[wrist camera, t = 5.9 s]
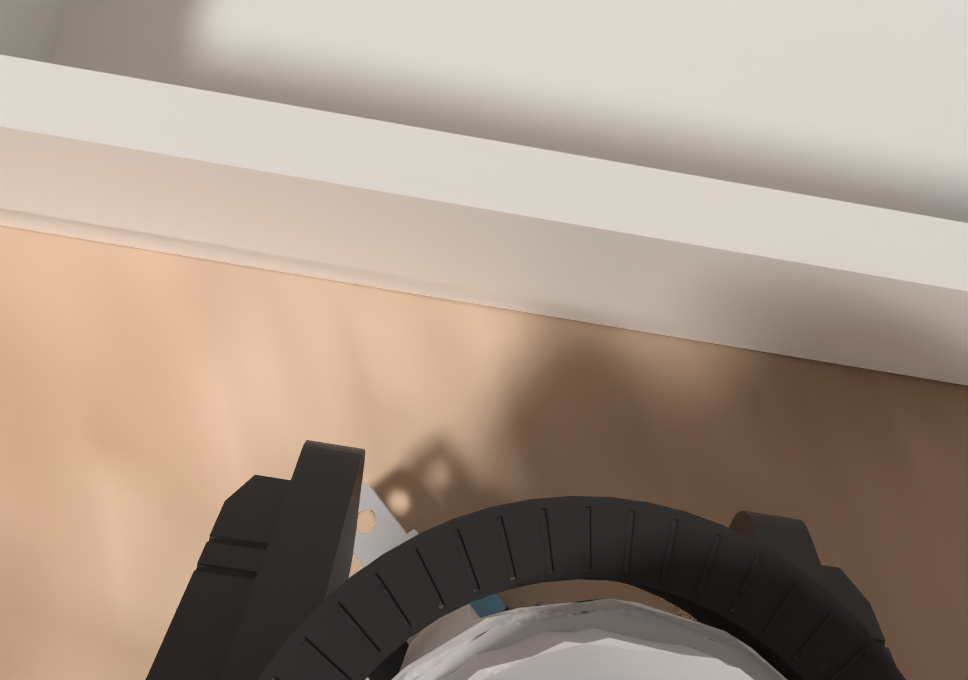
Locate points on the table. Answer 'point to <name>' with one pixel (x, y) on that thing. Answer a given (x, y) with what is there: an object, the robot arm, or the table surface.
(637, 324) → the tray
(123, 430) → the table surface
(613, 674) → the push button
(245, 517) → the robot arm
